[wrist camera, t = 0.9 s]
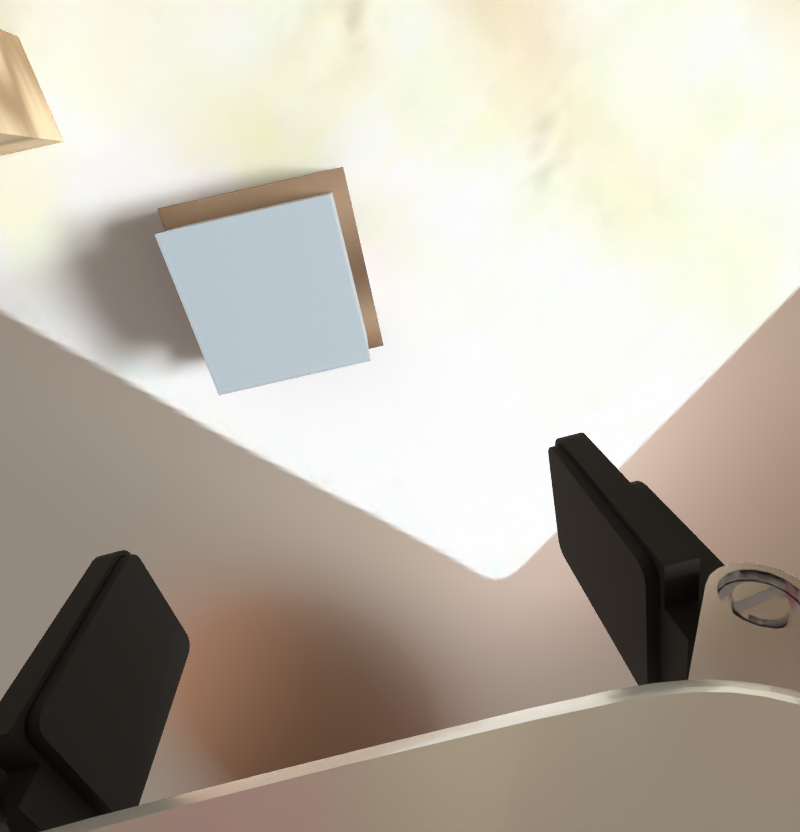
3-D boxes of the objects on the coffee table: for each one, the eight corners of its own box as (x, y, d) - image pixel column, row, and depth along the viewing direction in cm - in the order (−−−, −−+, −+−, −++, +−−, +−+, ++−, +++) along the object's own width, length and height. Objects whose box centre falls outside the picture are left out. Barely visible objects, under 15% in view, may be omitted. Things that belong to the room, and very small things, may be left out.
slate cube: (186, 224, 27) (154, 234, 22) (332, 191, 27) (329, 194, 22) (237, 363, 30) (219, 395, 26) (366, 333, 30) (370, 360, 26)
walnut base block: (187, 204, 31) (157, 208, 26) (343, 168, 31) (342, 166, 26) (241, 353, 36) (224, 381, 31) (377, 322, 36) (383, 345, 31)
